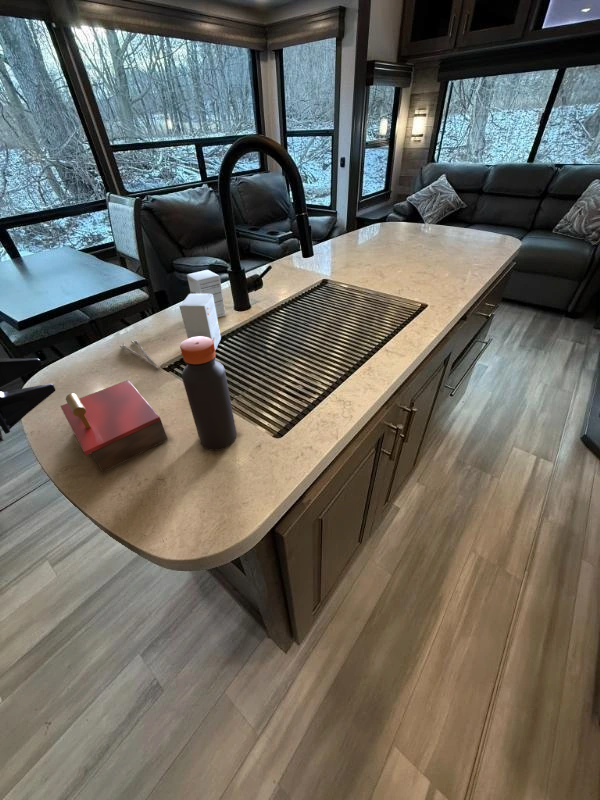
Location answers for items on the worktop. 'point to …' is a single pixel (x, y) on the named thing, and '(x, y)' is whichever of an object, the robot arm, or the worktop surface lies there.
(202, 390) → the dark bottle
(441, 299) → the worktop surface
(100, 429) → the lid
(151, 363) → the tweezers
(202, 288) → the white packaging box
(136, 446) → the valve box
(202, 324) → the small box
